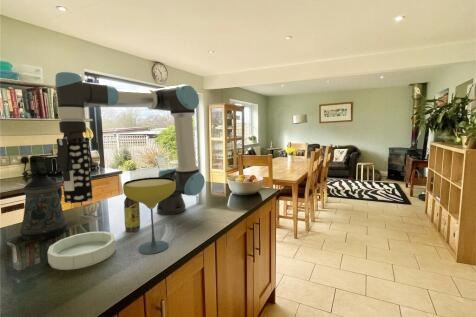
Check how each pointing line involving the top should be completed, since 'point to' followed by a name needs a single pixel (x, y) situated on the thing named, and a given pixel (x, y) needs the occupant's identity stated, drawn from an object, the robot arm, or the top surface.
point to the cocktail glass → (150, 203)
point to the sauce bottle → (131, 215)
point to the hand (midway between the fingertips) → (78, 187)
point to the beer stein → (43, 209)
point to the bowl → (81, 250)
